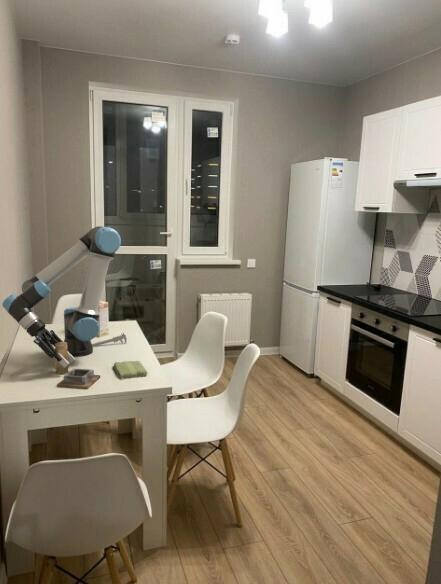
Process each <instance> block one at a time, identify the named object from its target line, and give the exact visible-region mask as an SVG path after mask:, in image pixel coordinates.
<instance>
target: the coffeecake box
mask: <svg viewBox="0 0 441 584" xmlns="http://www.w3.org/2000/svg"><path fill="white" fill-rule="evenodd" d="M98 311H99V313H100V316H99V321H98V323H99V327H100V329H99V333H98V334H97V336H96V337H97V338H98V337H99V338H101V337H106V336H109V335H110V332H109V331H110V330H109V329H110V328H109V324H110V323H109V302H108V301H103V300H100V303H99V307H98Z"/></svg>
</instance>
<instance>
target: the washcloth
mask: <svg viewBox="0 0 441 584" xmlns="http://www.w3.org/2000/svg"><path fill="white" fill-rule="evenodd" d="M112 369H114V372H115V373H116V374H117V376H118V378H119V379H127V378H128V379H130V378H138V377H139V376H140V377H146V376H147V375H148V371H147V369H146V368H145V367H144V365H143V363H142V362H141V361H140V360H123V361H121V362H119V361H114V362H113V365H112Z"/></svg>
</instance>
